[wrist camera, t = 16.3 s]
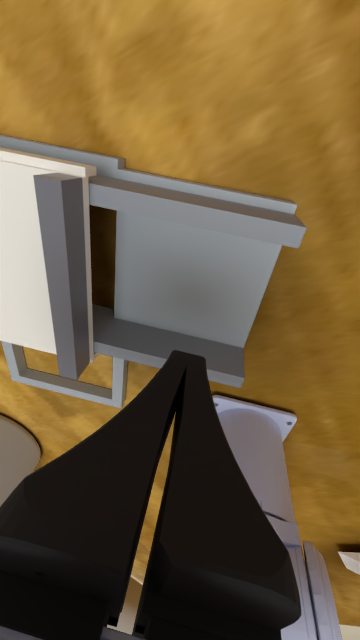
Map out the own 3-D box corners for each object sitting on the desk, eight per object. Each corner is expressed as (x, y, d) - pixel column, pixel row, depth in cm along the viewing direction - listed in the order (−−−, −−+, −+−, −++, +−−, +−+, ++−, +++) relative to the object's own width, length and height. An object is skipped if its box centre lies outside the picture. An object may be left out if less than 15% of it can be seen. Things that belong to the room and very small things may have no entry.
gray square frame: (212, 421, 28) (209, 463, 24) (19, 372, 29) (-13, 405, 25) (296, 192, 16) (316, 204, 12) (-41, 126, 17) (-120, 118, 13)
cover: (99, 352, 20) (77, 384, 17) (-21, 323, 21) (-60, 349, 18) (96, 166, 13) (60, 169, 11) (-82, 130, 14) (-161, 125, 11)
